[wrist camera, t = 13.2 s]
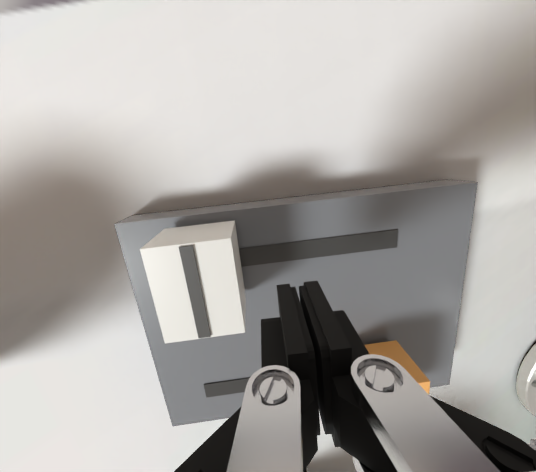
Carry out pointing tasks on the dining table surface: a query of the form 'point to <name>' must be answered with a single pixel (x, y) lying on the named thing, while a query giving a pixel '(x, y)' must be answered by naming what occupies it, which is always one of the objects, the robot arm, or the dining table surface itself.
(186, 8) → the dining table surface
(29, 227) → the dining table surface
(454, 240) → the console
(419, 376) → the orange fader
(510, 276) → the dining table surface
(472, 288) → the dining table surface
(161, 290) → the block
